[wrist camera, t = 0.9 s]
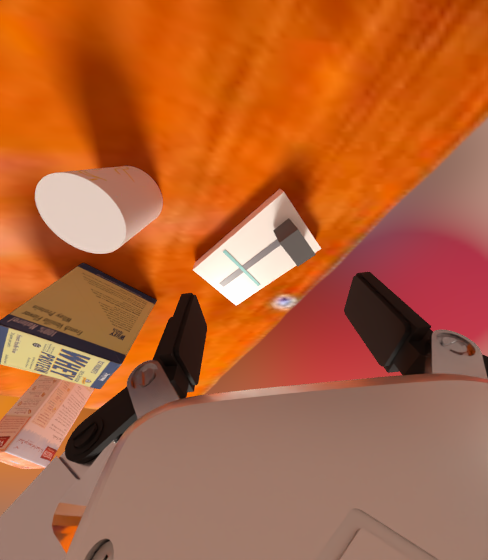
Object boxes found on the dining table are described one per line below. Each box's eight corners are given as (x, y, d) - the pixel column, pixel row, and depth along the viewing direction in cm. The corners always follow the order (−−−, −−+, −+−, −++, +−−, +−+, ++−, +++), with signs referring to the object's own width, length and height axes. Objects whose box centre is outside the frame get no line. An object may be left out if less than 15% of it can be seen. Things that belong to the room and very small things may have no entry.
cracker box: (60, 349, 49) (-32, 453, 32) (84, 349, 50) (5, 452, 33) (82, 376, 57) (17, 470, 40) (102, 376, 58) (47, 469, 41)
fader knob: (288, 218, 28) (298, 229, 24) (304, 241, 30) (315, 254, 26) (273, 230, 29) (279, 243, 25) (289, 251, 31) (297, 266, 27)
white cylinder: (143, 157, 26) (86, 159, 16) (172, 214, 30) (141, 242, 20) (94, 176, 27) (12, 188, 17) (129, 227, 31) (80, 261, 21)
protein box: (81, 260, 34) (-9, 323, 22) (158, 299, 41) (123, 365, 28) (67, 293, 39) (-15, 362, 26) (139, 324, 45) (101, 391, 32)
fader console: (279, 188, 29) (284, 191, 26) (314, 241, 34) (321, 249, 32) (195, 261, 35) (192, 270, 33) (236, 296, 41) (236, 305, 38)
